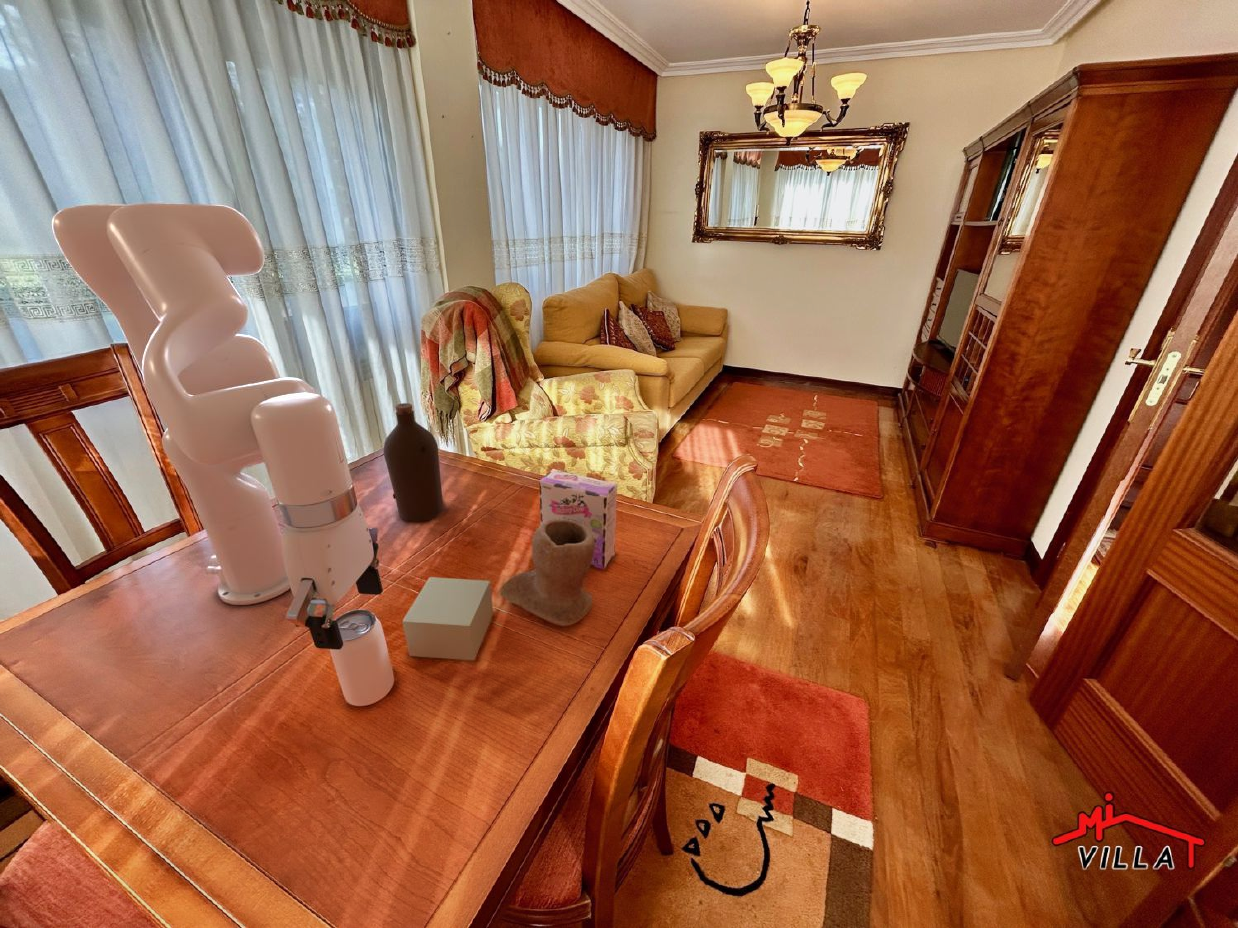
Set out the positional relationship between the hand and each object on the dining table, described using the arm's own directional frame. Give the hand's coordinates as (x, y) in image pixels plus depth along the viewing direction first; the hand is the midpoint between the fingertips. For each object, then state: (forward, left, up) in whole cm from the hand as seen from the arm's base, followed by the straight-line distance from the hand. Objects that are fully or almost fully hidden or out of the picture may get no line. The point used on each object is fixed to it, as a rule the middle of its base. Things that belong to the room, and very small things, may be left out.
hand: (352, 618), depth 64 cm
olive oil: (-12, +46, -14) cm, 50 cm away
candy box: (+25, +34, -14) cm, 44 cm away
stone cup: (+22, +20, -14) cm, 33 cm away
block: (+8, +11, -13) cm, 19 cm away
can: (0, 0, -14) cm, 14 cm away
